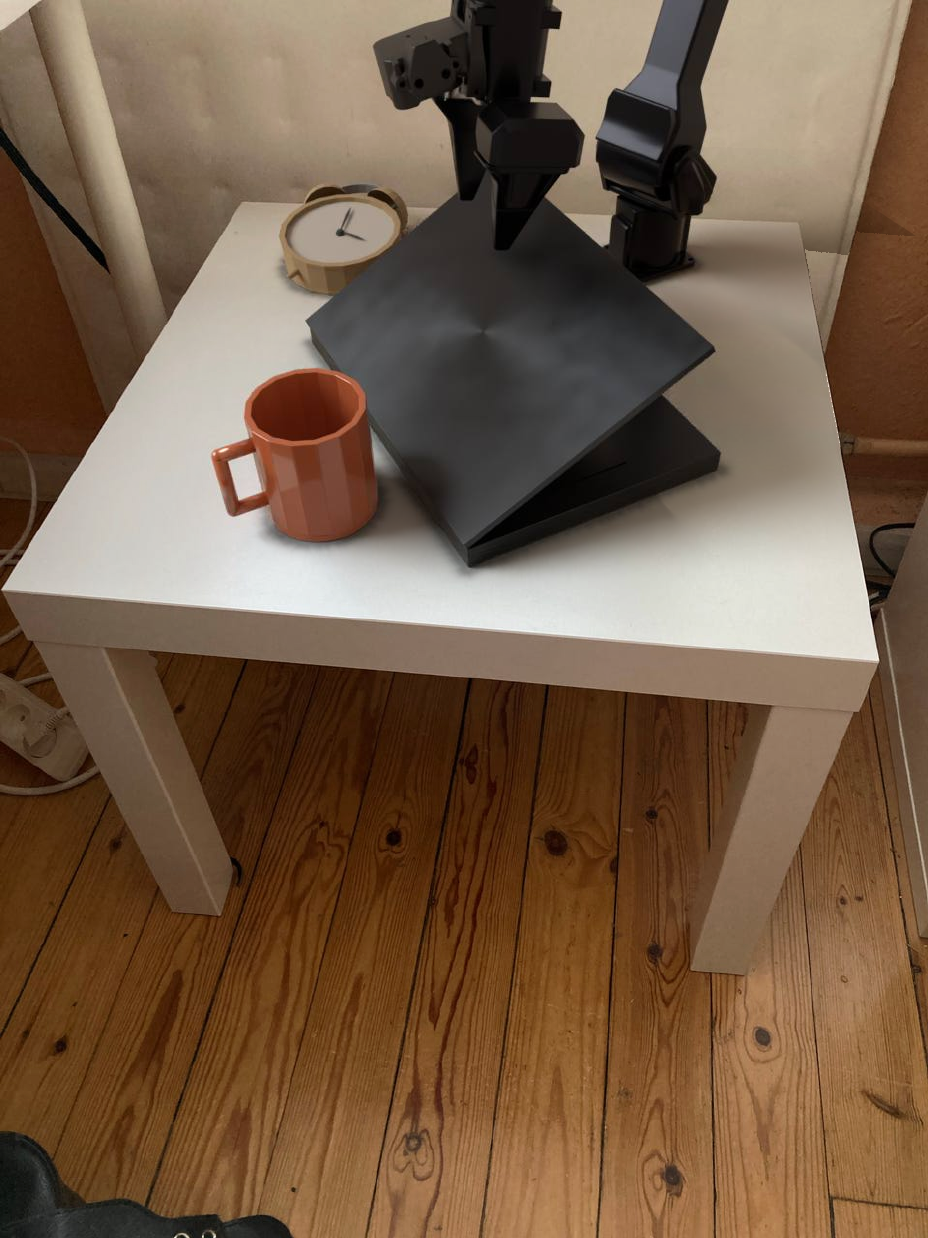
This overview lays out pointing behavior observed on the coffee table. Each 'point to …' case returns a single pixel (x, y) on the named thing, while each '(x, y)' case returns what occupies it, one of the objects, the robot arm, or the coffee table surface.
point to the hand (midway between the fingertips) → (482, 223)
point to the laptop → (587, 477)
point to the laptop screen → (501, 354)
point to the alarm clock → (340, 234)
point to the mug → (306, 455)
